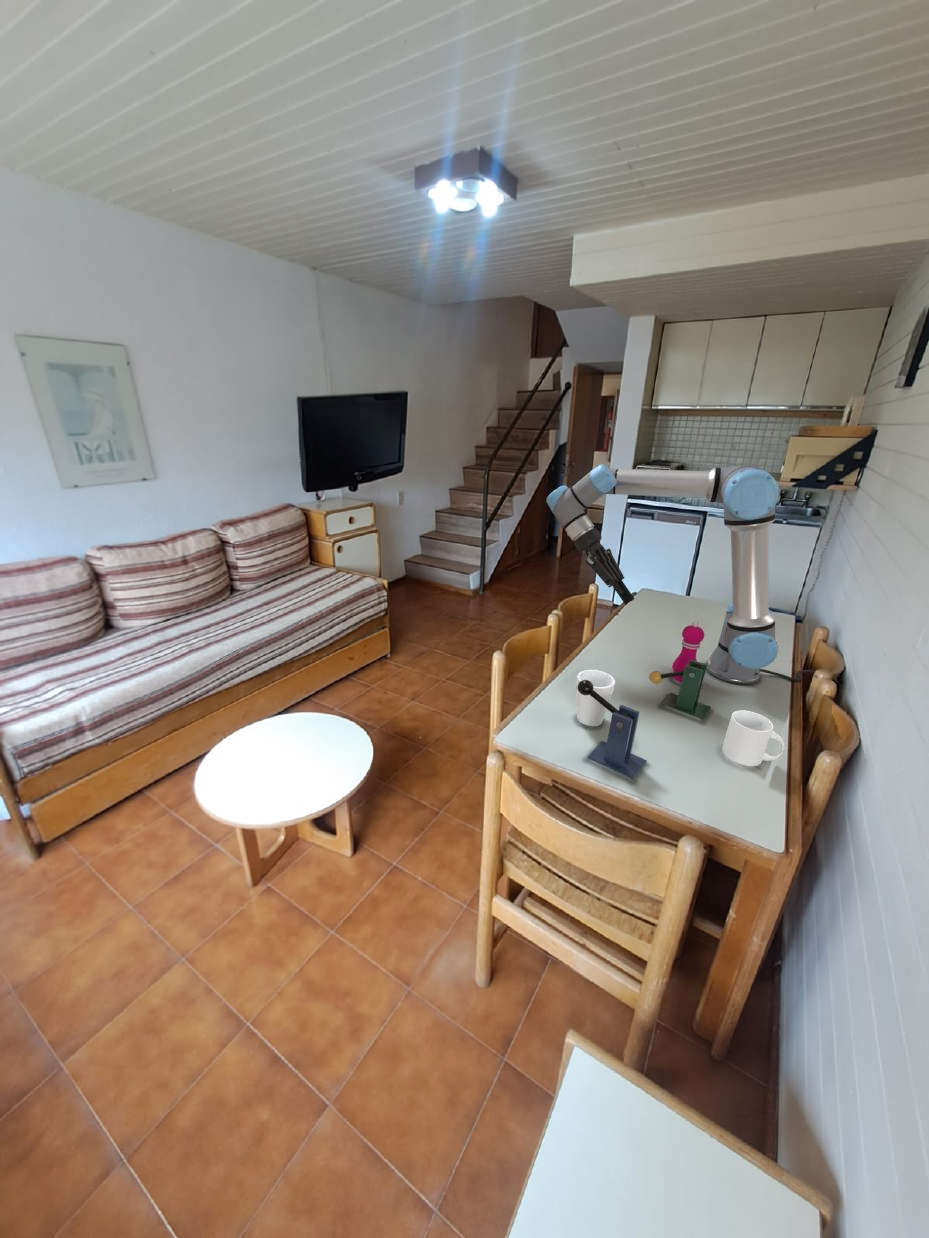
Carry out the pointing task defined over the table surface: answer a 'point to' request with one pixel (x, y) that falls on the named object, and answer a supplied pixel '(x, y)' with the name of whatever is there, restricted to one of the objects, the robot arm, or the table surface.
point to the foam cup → (587, 706)
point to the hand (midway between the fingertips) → (629, 601)
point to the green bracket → (690, 692)
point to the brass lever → (665, 675)
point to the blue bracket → (620, 745)
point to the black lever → (598, 697)
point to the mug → (749, 738)
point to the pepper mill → (688, 648)
